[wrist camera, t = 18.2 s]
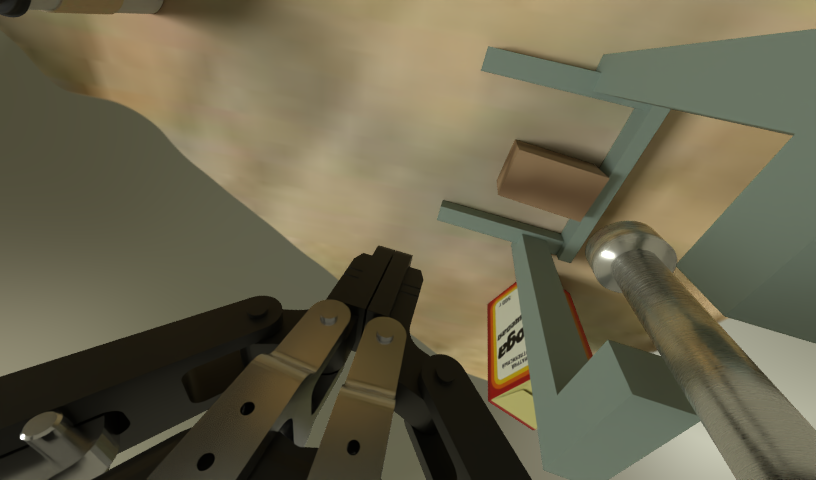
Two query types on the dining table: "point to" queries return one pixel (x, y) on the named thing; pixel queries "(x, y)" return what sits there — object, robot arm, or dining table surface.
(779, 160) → the frame
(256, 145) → the dining table surface
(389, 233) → the dining table surface
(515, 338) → the baking soda box
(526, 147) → the block
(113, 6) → the coffee cup
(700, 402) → the ram
